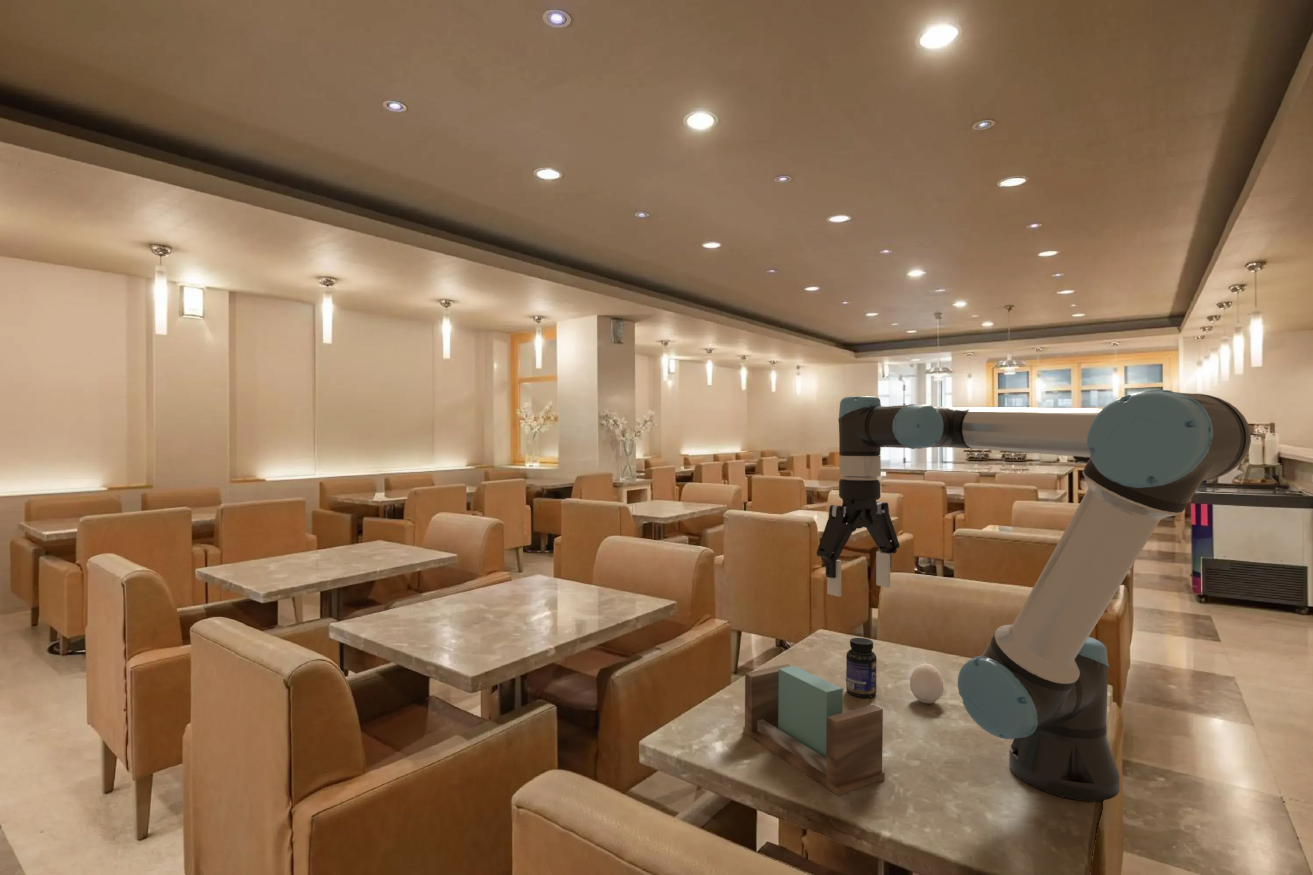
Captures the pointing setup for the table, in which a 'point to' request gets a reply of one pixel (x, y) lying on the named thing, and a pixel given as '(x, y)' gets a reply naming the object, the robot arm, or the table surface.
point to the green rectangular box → (807, 707)
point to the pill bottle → (861, 668)
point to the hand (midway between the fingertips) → (859, 590)
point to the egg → (926, 683)
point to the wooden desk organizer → (847, 737)
